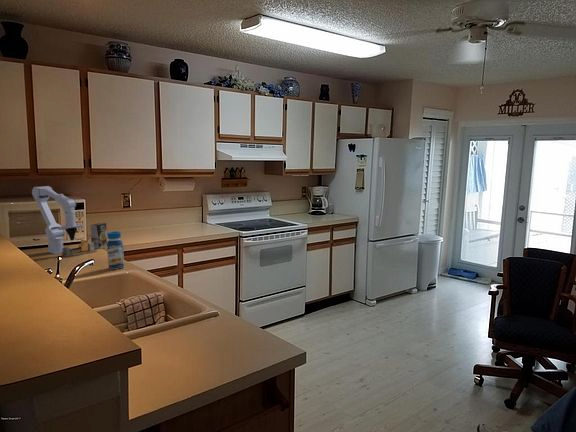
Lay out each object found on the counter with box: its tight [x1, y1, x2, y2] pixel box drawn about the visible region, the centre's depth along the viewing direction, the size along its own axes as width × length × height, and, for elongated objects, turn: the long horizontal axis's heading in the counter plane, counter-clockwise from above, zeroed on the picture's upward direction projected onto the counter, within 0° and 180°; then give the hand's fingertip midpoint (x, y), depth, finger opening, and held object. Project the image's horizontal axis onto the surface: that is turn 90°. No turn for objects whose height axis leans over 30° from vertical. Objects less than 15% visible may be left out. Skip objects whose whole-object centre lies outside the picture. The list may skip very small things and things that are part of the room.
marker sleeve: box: [78, 239, 88, 251], centre depth 277 cm, size 4×4×7 cm
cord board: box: [61, 241, 98, 258], centre depth 275 cm, size 9×18×6 cm, turn 142°
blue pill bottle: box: [106, 230, 125, 270], centre depth 237 cm, size 8×8×20 cm
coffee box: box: [89, 222, 108, 250], centre depth 292 cm, size 9×6×16 cm
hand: (72, 239), depth 272 cm, fingers closed
